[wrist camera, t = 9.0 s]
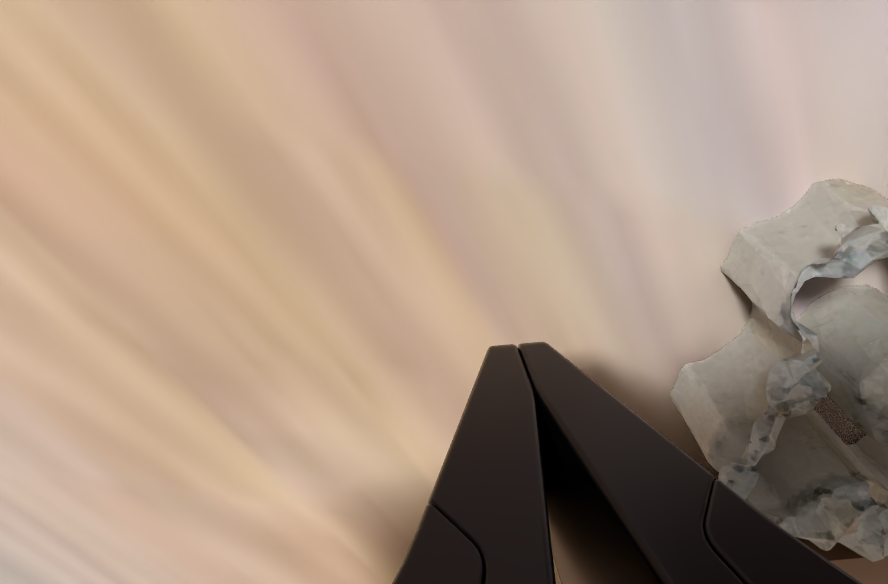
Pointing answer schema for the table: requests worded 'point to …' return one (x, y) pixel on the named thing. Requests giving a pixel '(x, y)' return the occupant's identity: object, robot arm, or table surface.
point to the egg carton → (803, 374)
